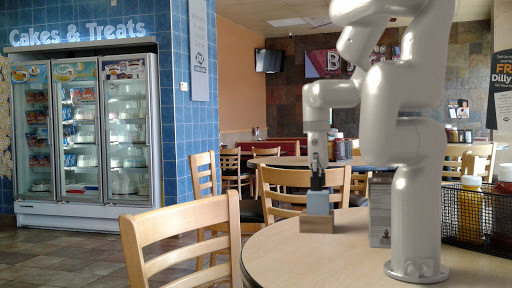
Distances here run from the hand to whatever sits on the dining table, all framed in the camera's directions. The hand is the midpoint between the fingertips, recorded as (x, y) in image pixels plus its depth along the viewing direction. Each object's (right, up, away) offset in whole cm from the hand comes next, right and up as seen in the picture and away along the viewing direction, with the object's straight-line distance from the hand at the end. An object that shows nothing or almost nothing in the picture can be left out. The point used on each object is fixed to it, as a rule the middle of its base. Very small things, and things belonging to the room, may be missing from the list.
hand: (318, 188), depth 127 cm
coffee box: (+14, -13, -13) cm, 23 cm away
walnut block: (0, -12, +1) cm, 12 cm away
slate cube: (0, -7, +1) cm, 7 cm away
